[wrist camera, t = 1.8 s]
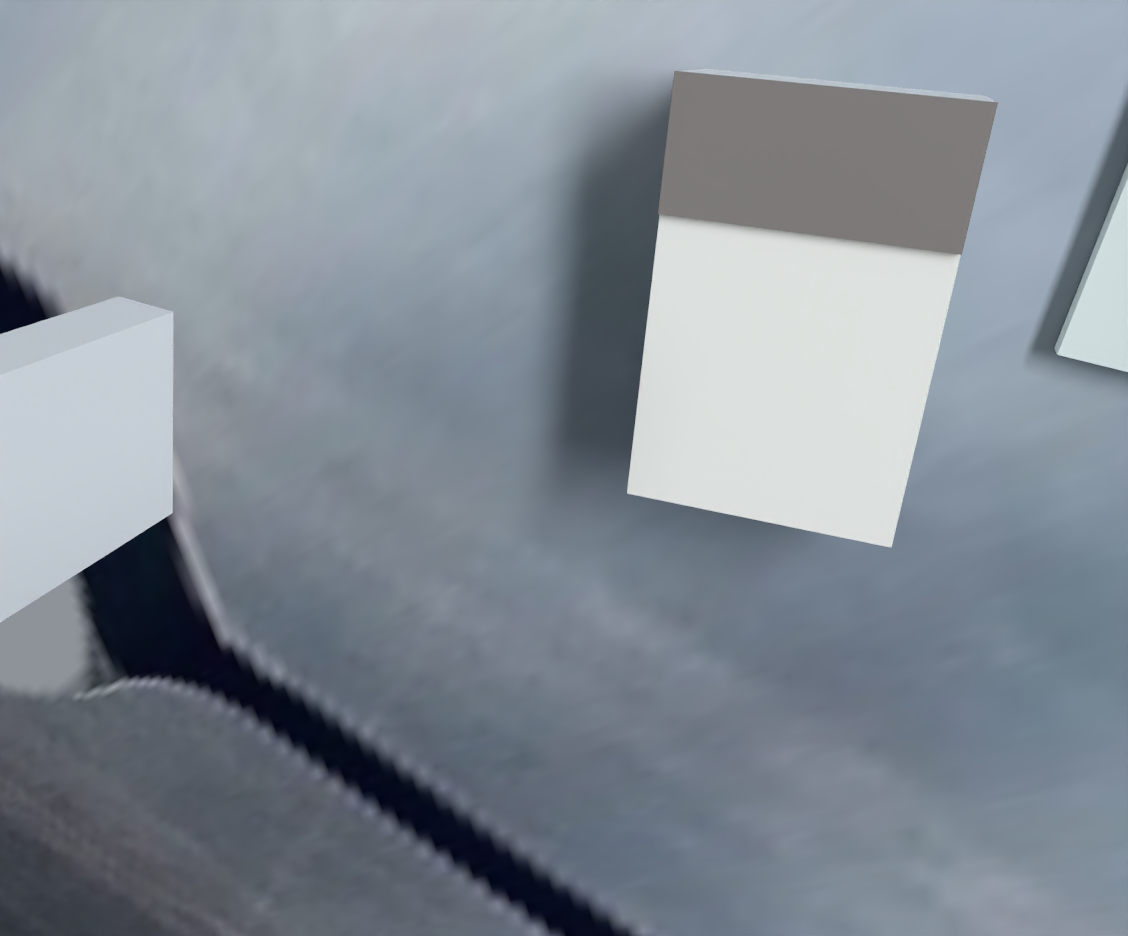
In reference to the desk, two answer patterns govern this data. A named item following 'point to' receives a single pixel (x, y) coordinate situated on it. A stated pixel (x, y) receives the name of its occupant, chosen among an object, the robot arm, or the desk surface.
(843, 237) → the card deck box
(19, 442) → the robot arm
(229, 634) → the desk surface
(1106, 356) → the mat
